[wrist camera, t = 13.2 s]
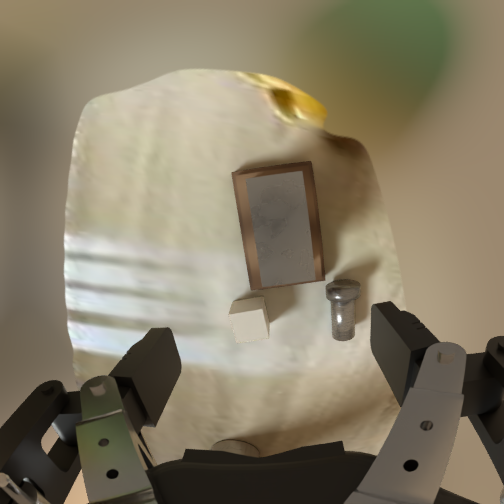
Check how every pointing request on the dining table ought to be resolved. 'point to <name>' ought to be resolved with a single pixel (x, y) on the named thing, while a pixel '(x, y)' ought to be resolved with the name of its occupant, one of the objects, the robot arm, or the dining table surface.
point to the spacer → (249, 319)
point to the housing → (281, 228)
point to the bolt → (343, 307)
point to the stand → (247, 224)
